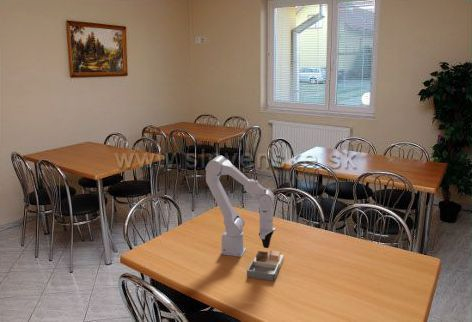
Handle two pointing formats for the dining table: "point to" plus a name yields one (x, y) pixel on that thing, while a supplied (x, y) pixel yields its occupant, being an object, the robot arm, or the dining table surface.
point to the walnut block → (261, 256)
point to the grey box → (262, 272)
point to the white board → (269, 262)
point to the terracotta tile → (274, 255)
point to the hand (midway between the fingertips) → (266, 247)
